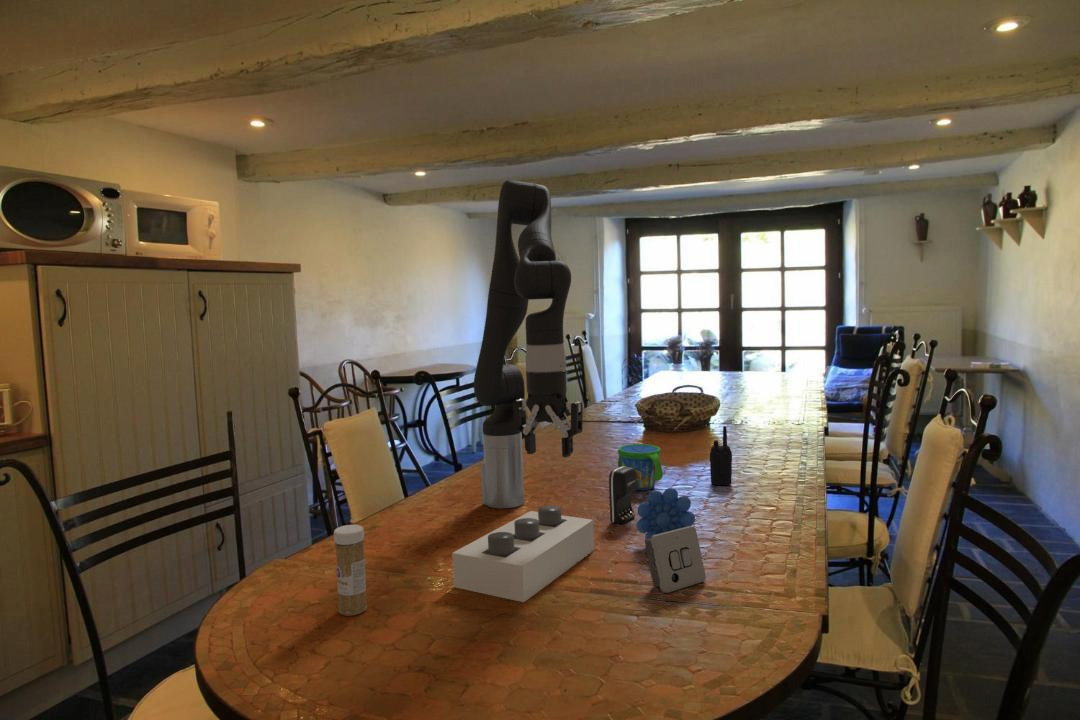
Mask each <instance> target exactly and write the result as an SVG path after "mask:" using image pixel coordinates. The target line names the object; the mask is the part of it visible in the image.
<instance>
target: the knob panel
mask: <svg viewBox="0 0 1080 720" xmlns="http://www.w3.org/2000/svg"><path fill="white" fill-rule="evenodd" d="M523 518H533V519H537V520H538V511H533V510H530V511H527V512H526V513H524V514H522V515H521V516H519V517H517V518H515V519H513V520H511V521H509V522H507V523H506V524H504V525H502V526H500V527H498V528H496V529H494V530H492V531H490V532H489V533H487V534H485V535H483V536H481V537H480V538H477V539H475V540H474V541H472V542H470V543H468V544H466V545H464V546H462V547H461V548H459V549H456V550H455V551H453V552H452V555H451V556H452V571H453V572H452V574H453V575H452V576H453V577H452V578H453V587H454V588H457V589H460V590H461V589H462V590H466V591H470V592H475V593H479V594H484V595H489V596H492V597H493V596H494V597H498V598H502V599H507V600H512V601H515V602H516V601H517V602H520V603H525V602H526V601H528V600H529V599H531V598H532V597H534V596H535V595H536V594H537V593H539V592H541V591H542V589H544V588H545V587H547V586H548V585H549V584H551V583H552V582H554V581H555V580H556V579H558V578H559V577H560V576H561V575H563V574H564V573H566V572H567V571H569V570H570V569H572V567H574V566H575V565H577V564H578V563H579V562H581V560H583V559H584V557H585V558H586V557H588V556H589V555H590V554H591V553H592V552H594V551H595V535H594V534H595V531H594V530H595V528H594V527H595V526H594V519H590V518H582V517H576V516H569V515H568V516H567V515H562V514H561V520H562V524H560V525H558V526H557V527H549V526H542V525H539V538H537V539H535V540H534V541H532V542H531V541H525V540H519V539H515V525H514V522H515V521H516V520H518V519H523ZM496 532H509V533H512V534H513V535H514V553H512V554H511V555H509V556H508V557H506V558H505V557H500V556H494V555H489V554H488V536H489V535H490V534H492V533H496ZM588 554H589V555H588ZM577 562H578V563H577Z"/></svg>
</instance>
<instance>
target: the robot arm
mask: <svg viewBox="0 0 1080 720" xmlns="http://www.w3.org/2000/svg"><path fill="white" fill-rule="evenodd" d="M551 199H552V198H551V194H550V191H549V189H548V188H547V187H546V186H544V185H543V184H538V183H533V182H527V181H518V180H512V179H511V180H509V179H507V180H505V181H504V182H503V183H502V185H501V188H500V191H499V197H498V206H497V220H496V234H495V235H496V236H495V247H494V255H493V261H492V268H491V274H490V275H491V276H490V282H489V288H488V295H487V305H486V312H485V313H486V314H485V315H486V316H485V320H484V321H485V322H484V328H483V334H482V340H481V341H482V342H481V346H480V350H479V355H478V357H477V358H478V359H477V362H476V363H477V364H476V368H475V372H474V377H473V393H474V395H475V396H474V397H475V399H476V400H477V401H478V403H479V404H480V405H482V406H485V407H492V406H495V408H494V410H493V412H492V413H491V414H490V415H489V417H487V418H486V419H484V421H483V422H482V442H483V443H482V444H483V445H482V447H483V463H482V464H481V465H480V480H481V481H480V482H481V483H480V484H481V503H482V505H485V506H487V507H489V508H492V509H512V508H517V507H520V506H522V505H524V504H525V491H524V487H525V486H524V485H525V484H524V463H523V462H524V460H523V458H524V456H523V455H524V454H523V436H524V449H525V451H526V452H527V455H534V454H535V453H536V452H537V445H536V444H537V443H536V433H535V431H536V429H537V427H538V425H539V424H540V423H544V422H547V423H550V424H554V425H555V426H554V427H556V428H557V429H558V430H559V432H560V434H561V435H562V437H561V453H562V454H561V455H562V458H569V457H571V454H573V452H574V440H573V439H574V438H573V437H574V436H576V435H578V434H580V433H583V428H584V427H583V423H584V422H583V419H584V418H583V408H584V407H583V405H584V404H583V402H582V401H581V400H578V401H569V400H568V399H567V390H568V389H567V388H568V387H567V362H566V360H567V357H566V352H565V344H564V343H565V341H564V316H565V308H566V303H567V300H568V296H569V291H570V288H571V283H572V272H571V269H570V267H569V266H568V265H567V263H566V262H564V261H562V260H557V255H556V251H555V250H556V249H555V246H554V243H553V242H554V241H553V239H552V200H551ZM513 225H519V226H526V227H525V228H523V230H522V231H521V233H519V237H518V239H517V250H518V253H517V250H516V247H515V243H514V239H513V234H512V226H513ZM529 300H532V301H533V300H551V304H550V305H549V307H548V308H547V309H544V310H541V311H536V312H533V313H530V314H528V315H527V312H528V308H529V307H528V306H529ZM526 315H527V316H526ZM524 320H525V344H526V347H525V378H524V376H523V373H522V371H521V369H520V368H519V367H518V366H516V365H514V364H511V363H505V364H504V362H505V356H506V354H507V351H508V348H509V345H510V343H511V342H512V340H513V338H515V335H516V334H517V332H518V331H519V329H520V328H521V326H522V324H523V322H524ZM525 380H526V381H525ZM525 382H526V385H525ZM525 386H526V389H525ZM525 391H526V392H525ZM525 393H527V399H525V397H526V396H525ZM527 409H528V410H529V411H530V414H529V416H528V418H527V414H526V413H527V412H526V410H527ZM567 409H568V412H569V414H570V420H569V418H568V416H567V415H566V411H567ZM522 433H523V434H522Z"/></svg>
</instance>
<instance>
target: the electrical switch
mask: <svg viewBox="0 0 1080 720" xmlns="http://www.w3.org/2000/svg"><path fill="white" fill-rule="evenodd" d="M644 546H645V549H646V555H647V559H648V564H649V570H650V575H651V579H652V580H651V581H652V585H653V587H657V588H660V589H659V590H660V591H661V592H662V593H663V594H666V593H667V594H668V593H672V592H675V591H677V590H681V589H684V588H689V587H691V586H694V585H696V584H701V583H704V582H705V581H706V578H707V575H706V570H705V566H704V562H703V561H704V560H703V556H702V553H701V548H700V542H699V539H698V533H697V528H696V527H694V526H693V525H692V526H688V527H684V528H680V529H676V530H672V531H668V532H665V533H661V534H657V535H653V536H652V538H651V539H647V540H645V539H644Z"/></svg>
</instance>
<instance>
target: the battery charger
mask: <svg viewBox="0 0 1080 720" xmlns="http://www.w3.org/2000/svg"><path fill="white" fill-rule="evenodd" d="M636 491H638V490H637V473H636V471H635V469H633V468H630V467H626V466H622V467H616V468H614V469H612V470H611V471H610V472H609V476H608V494H609V517H610V518H609V519H610V521H609V522H611V523H613V524H625V523H627V522H629V521H631V520H632V519H634V518H635V517H636V513H635V512H634V508H633V505H632V494H633V493H635V492H636Z"/></svg>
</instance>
